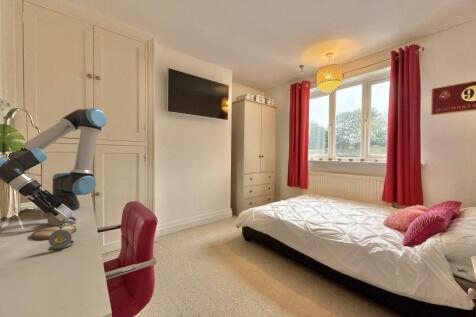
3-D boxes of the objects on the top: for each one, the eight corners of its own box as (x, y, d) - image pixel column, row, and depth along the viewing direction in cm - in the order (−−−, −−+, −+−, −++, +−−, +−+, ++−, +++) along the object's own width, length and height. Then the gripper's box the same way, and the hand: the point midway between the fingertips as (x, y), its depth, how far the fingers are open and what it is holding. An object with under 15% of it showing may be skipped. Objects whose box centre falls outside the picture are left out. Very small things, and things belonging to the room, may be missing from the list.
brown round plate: (41, 229, 93) (41, 226, 93) (81, 225, 99) (81, 223, 99) (22, 242, 79) (22, 239, 79) (69, 237, 85) (69, 234, 85)
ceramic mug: (45, 227, 95) (46, 211, 95) (53, 222, 102) (53, 207, 102) (73, 225, 99) (74, 210, 99) (78, 220, 107) (79, 206, 107)
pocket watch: (69, 241, 82) (69, 216, 82) (79, 246, 78) (80, 220, 78) (42, 248, 75) (43, 222, 75) (52, 254, 71) (53, 226, 71)
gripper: (30, 187, 103) (68, 216, 110) (3, 195, 84) (51, 229, 91) (44, 177, 106) (80, 205, 112) (20, 182, 86) (66, 216, 93)
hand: (67, 216), depth 101 cm, fingers closed on ceramic mug, 8 cm apart
